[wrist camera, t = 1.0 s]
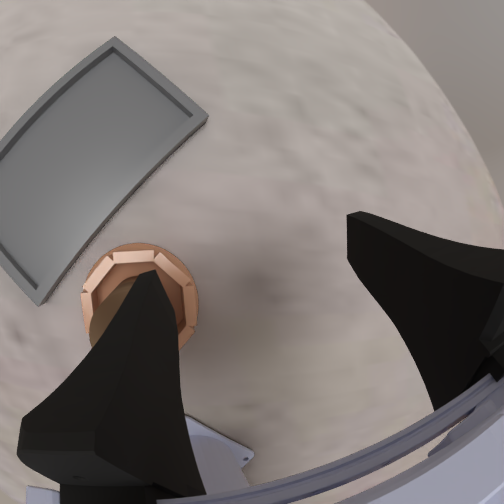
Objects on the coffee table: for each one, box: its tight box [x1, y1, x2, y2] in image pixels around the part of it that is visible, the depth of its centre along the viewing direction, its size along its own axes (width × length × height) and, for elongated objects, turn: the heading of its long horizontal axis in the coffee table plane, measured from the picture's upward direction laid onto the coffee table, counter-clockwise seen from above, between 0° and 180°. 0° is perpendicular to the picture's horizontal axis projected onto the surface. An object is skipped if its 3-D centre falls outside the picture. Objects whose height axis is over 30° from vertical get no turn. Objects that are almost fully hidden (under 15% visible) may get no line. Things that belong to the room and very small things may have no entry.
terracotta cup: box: [81, 243, 198, 350], centre depth 19 cm, size 8×8×2 cm
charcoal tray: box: [0, 36, 209, 307], centre depth 17 cm, size 18×11×2 cm, turn 138°
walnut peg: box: [89, 276, 138, 348], centre depth 16 cm, size 4×4×8 cm
